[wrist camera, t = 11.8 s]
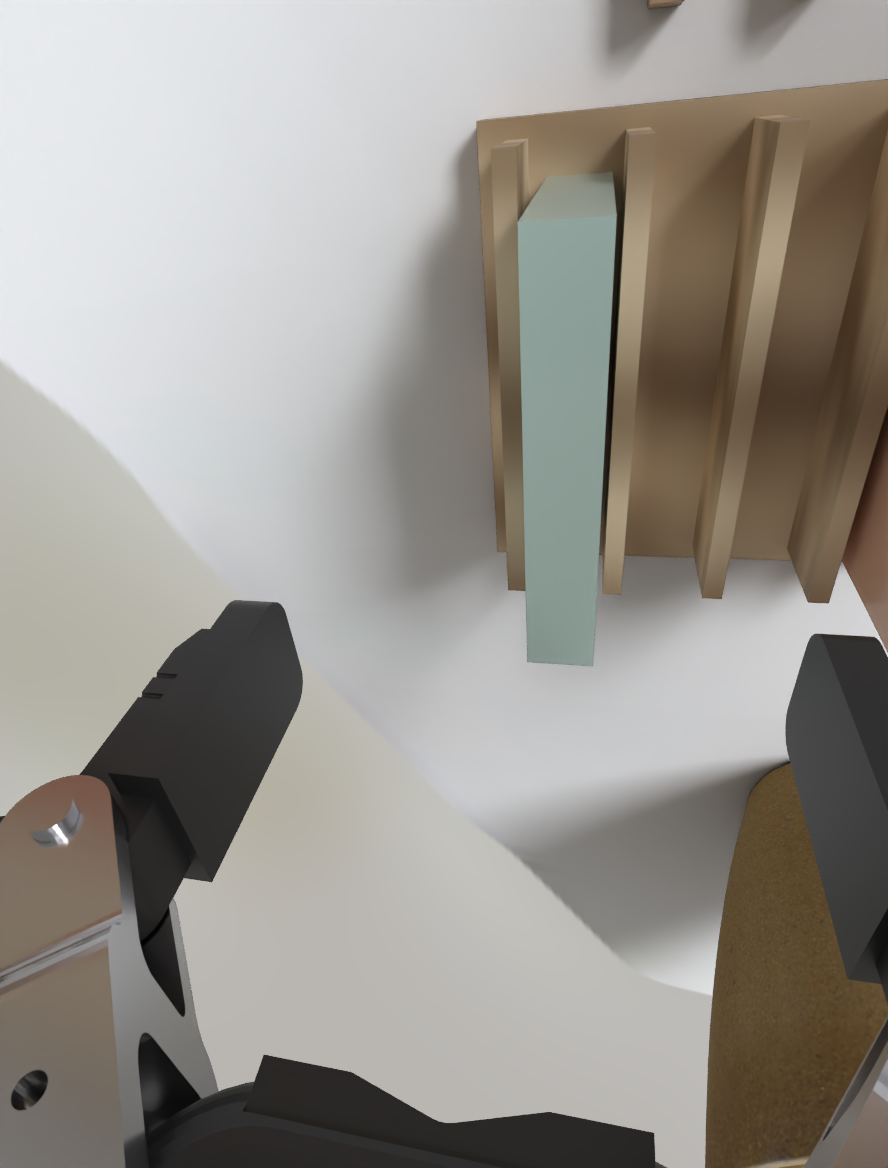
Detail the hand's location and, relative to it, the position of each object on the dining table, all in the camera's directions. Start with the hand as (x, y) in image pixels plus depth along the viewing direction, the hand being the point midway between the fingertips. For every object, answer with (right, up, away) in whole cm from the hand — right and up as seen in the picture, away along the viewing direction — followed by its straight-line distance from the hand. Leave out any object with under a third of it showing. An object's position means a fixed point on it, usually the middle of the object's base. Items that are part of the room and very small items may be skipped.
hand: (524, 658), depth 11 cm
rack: (+8, +8, +11) cm, 16 cm away
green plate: (+3, +8, +11) cm, 14 cm away
